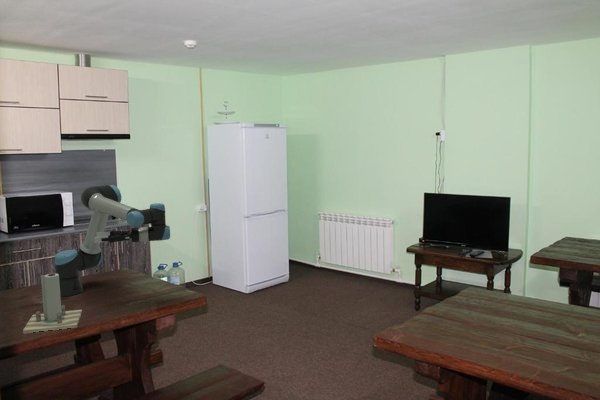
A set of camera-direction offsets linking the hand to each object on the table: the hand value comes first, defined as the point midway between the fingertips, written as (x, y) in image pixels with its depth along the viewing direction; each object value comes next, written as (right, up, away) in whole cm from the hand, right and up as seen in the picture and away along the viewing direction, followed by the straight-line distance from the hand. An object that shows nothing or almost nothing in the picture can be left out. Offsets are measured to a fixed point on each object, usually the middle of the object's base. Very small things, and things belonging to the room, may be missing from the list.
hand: (95, 237), depth 256 cm
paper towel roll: (-12, -37, -18) cm, 43 cm away
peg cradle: (-12, -39, -18) cm, 44 cm away
